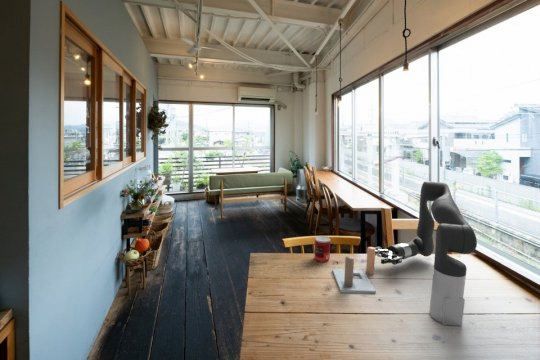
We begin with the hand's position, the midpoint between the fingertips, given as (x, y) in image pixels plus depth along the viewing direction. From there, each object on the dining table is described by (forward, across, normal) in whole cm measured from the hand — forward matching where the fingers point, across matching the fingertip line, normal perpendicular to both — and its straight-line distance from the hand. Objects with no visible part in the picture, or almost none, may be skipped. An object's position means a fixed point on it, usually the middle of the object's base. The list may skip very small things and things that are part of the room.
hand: (374, 257), depth 127 cm
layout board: (+15, +2, +7) cm, 16 cm away
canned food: (+13, -22, +7) cm, 27 cm away
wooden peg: (+2, 0, +7) cm, 7 cm away
